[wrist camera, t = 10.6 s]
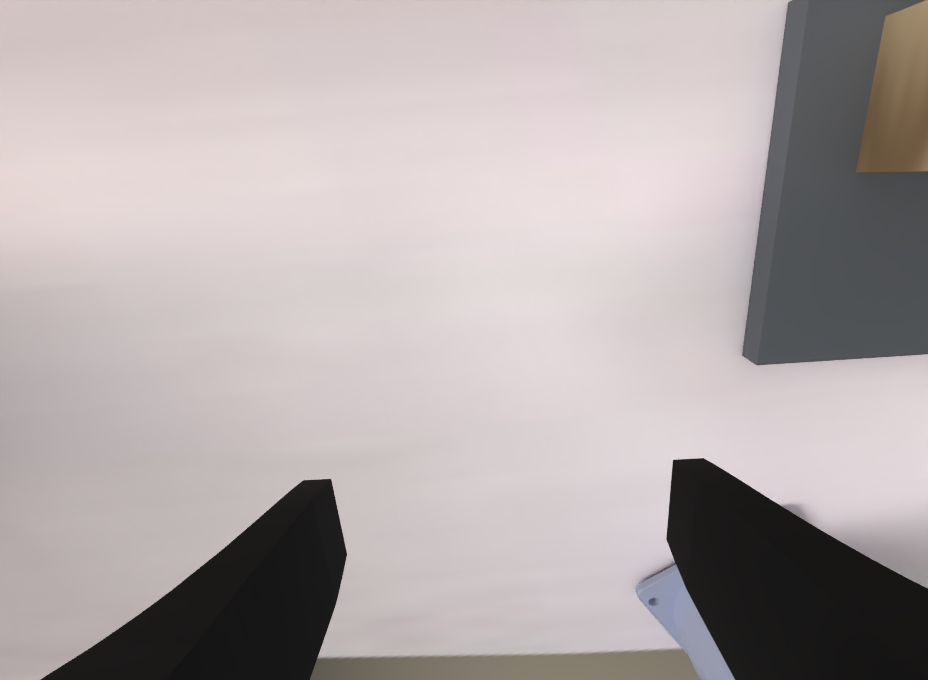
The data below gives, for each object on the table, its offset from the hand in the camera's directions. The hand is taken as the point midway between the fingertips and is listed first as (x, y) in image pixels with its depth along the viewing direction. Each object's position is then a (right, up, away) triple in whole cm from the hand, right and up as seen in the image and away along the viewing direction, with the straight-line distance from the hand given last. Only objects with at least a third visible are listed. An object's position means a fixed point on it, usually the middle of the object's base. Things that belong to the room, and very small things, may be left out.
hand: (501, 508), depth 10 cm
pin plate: (+14, +9, +6) cm, 18 cm away
